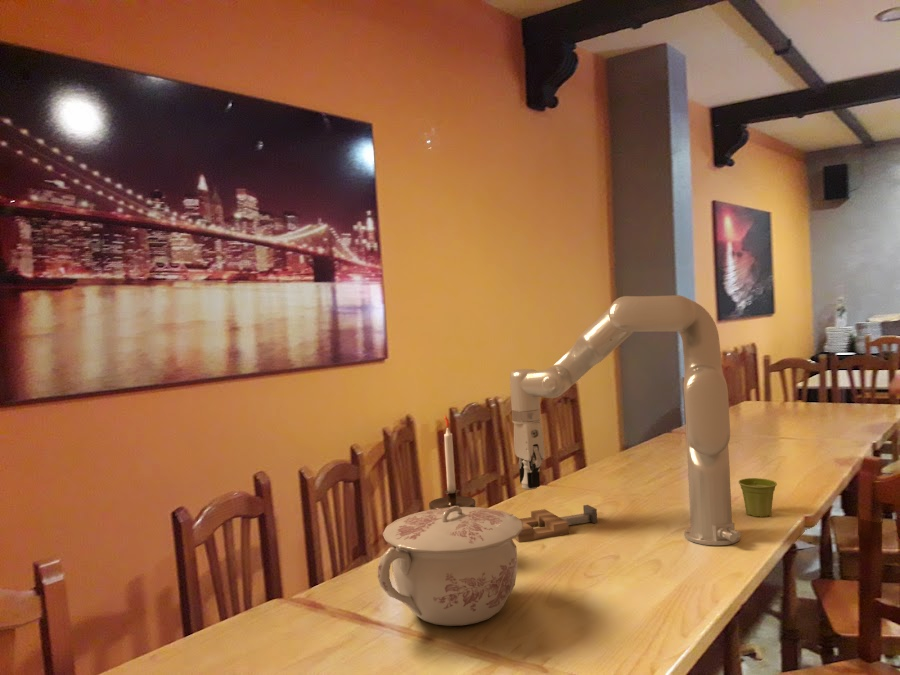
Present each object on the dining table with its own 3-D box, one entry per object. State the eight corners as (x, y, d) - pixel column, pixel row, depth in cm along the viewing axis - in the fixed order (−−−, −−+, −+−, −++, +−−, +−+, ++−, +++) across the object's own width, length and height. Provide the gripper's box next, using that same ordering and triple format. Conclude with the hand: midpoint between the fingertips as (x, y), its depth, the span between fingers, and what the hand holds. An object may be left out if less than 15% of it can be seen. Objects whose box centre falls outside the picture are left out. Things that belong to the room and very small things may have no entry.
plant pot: (774, 509, 188) (773, 478, 188) (781, 519, 179) (779, 486, 179) (737, 509, 191) (736, 477, 190) (742, 519, 181) (741, 486, 181)
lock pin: (597, 522, 185) (596, 509, 185) (559, 528, 182) (558, 515, 182) (588, 517, 190) (587, 504, 190) (550, 523, 187) (550, 510, 186)
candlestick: (426, 560, 164) (417, 414, 163) (468, 552, 168) (460, 409, 167) (442, 575, 154) (432, 419, 153) (486, 566, 158) (477, 414, 157)
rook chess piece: (527, 485, 185) (525, 455, 185) (541, 486, 182) (539, 456, 182) (518, 488, 182) (516, 458, 181) (532, 490, 179) (530, 460, 179)
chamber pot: (518, 579, 149) (513, 484, 148) (539, 638, 122) (532, 522, 121) (388, 589, 148) (383, 493, 148) (380, 650, 121) (372, 533, 120)
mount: (568, 533, 178) (568, 522, 178) (518, 542, 174) (518, 530, 173) (545, 519, 191) (544, 509, 191) (498, 527, 187) (497, 516, 187)
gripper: (553, 418, 175) (557, 490, 175) (526, 411, 191) (529, 476, 191) (526, 421, 172) (530, 494, 173) (501, 413, 188) (504, 480, 189)
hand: (529, 484), depth 182 cm, fingers closed on rook chess piece, 4 cm apart
